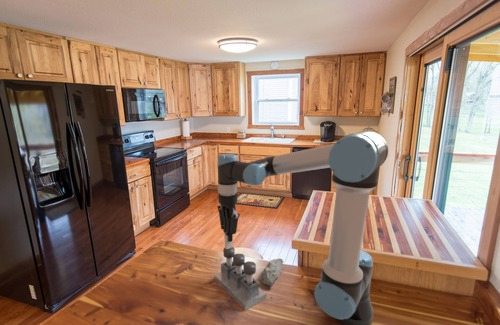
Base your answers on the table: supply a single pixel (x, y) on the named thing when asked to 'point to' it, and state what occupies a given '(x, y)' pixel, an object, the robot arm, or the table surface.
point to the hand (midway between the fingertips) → (228, 247)
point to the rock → (271, 271)
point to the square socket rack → (239, 286)
